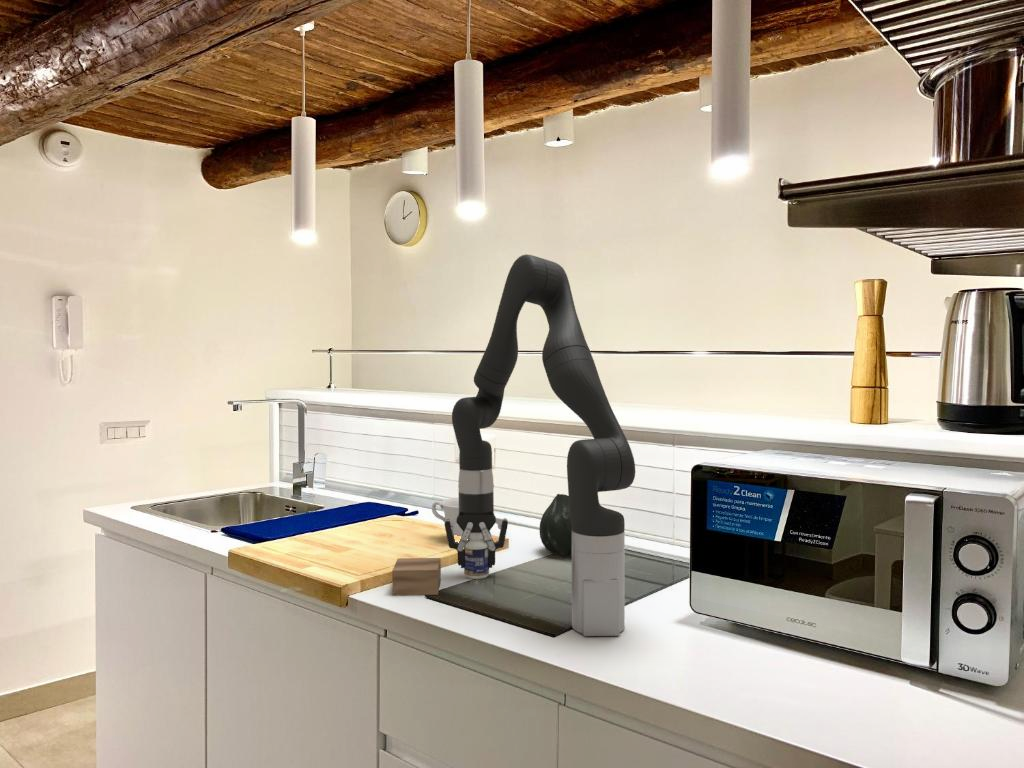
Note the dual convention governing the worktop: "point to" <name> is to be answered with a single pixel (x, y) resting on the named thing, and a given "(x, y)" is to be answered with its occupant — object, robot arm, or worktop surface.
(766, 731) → the worktop surface
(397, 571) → the plinth
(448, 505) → the teacup
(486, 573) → the pill bottle
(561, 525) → the squash
